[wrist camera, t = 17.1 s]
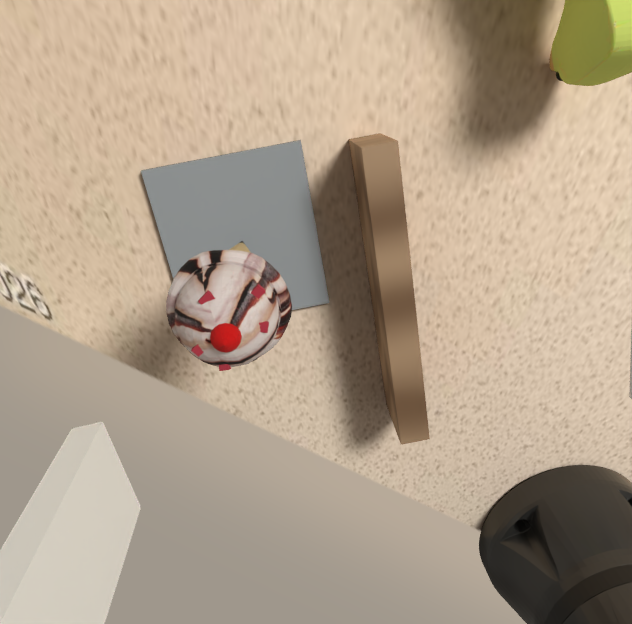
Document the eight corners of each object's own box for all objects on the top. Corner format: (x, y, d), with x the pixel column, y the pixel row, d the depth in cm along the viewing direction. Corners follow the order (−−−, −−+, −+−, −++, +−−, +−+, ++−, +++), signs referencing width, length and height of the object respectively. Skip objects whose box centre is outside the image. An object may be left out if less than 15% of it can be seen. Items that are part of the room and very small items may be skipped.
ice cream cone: (243, 298, 36) (228, 429, 23) (178, 242, 34) (118, 348, 21) (302, 240, 35) (323, 342, 21) (237, 179, 33) (215, 247, 19)
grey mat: (328, 300, 37) (329, 302, 37) (189, 327, 37) (188, 329, 37) (300, 140, 33) (300, 140, 33) (142, 170, 33) (140, 171, 33)
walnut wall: (411, 399, 41) (429, 438, 37) (386, 404, 41) (401, 444, 37) (380, 133, 33) (397, 140, 29) (348, 139, 33) (361, 147, 29)
